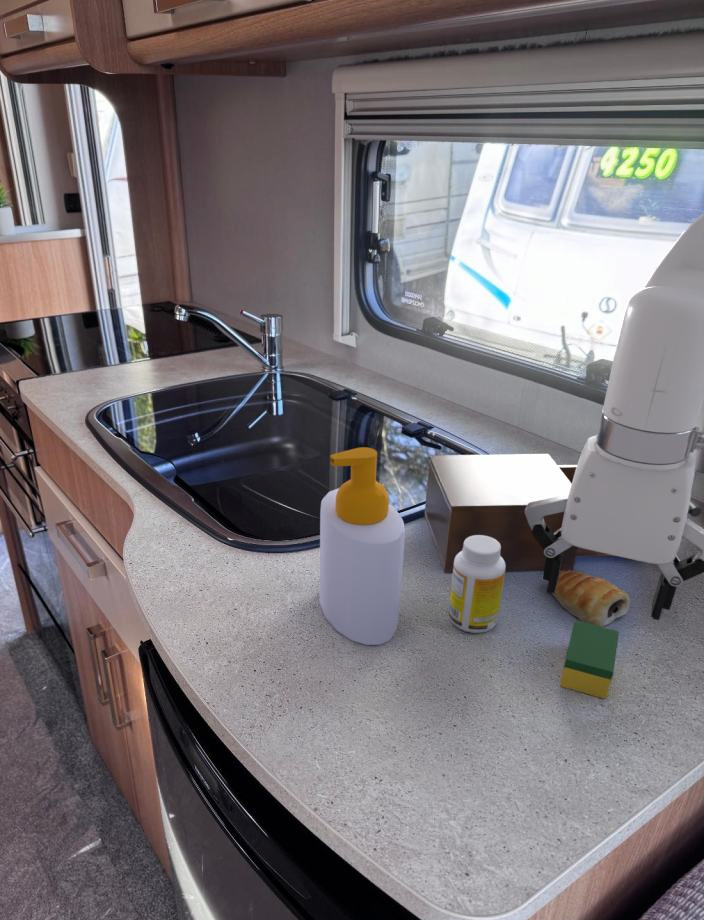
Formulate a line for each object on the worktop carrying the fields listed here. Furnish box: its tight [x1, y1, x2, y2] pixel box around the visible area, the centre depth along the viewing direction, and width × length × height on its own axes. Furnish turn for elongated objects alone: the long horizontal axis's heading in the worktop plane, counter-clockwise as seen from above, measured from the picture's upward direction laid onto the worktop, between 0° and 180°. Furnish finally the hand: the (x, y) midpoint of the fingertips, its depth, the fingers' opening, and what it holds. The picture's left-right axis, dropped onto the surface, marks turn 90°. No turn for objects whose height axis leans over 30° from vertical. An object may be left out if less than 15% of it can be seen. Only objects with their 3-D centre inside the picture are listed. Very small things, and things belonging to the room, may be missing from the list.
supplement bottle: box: [448, 535, 506, 634], centre depth 80 cm, size 6×6×10 cm
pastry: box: [547, 570, 631, 628], centre depth 85 cm, size 9×7×4 cm
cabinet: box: [423, 453, 578, 574], centre depth 96 cm, size 17×15×10 cm
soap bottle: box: [318, 446, 406, 646], centre depth 79 cm, size 13×8×20 cm, turn 20°
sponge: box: [559, 620, 620, 700], centre depth 75 cm, size 7×4×4 cm, turn 156°
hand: (602, 598), depth 71 cm, fingers open, 9 cm apart
